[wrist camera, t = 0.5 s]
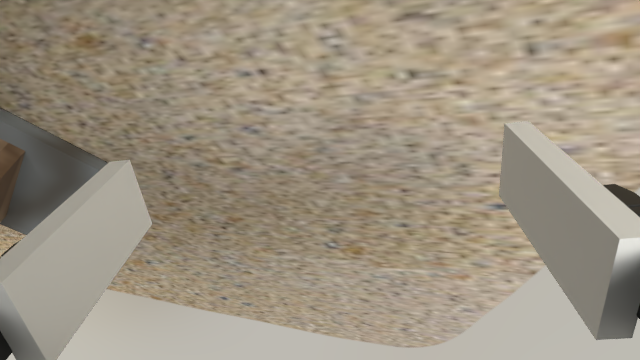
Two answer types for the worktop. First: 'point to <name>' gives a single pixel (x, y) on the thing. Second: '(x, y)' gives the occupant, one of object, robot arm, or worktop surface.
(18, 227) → the socket block
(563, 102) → the worktop surface
